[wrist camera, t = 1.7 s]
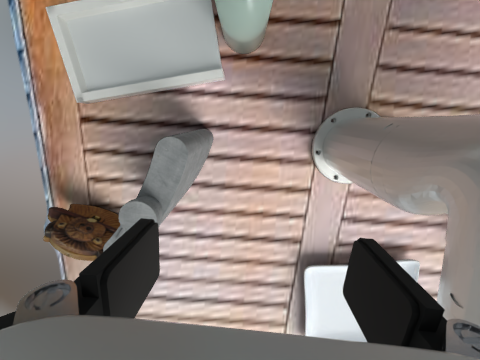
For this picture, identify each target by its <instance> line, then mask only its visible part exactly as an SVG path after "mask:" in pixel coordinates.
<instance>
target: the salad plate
mask: <svg viewBox="0 0 480 360" xmlns="http://www.w3.org/2000/svg"><path fill="white" fill-rule="evenodd" d="M395 261H396V262H397V263H398V264H399V265H400V266H401V267H402V268H403V269H404V270H405V271H406V272H407V273H408V274H409V275H410V276H411V277H412V278H413V279H414V280H415V281H416V282H418V276H419V267H420V263H419V261H416V260H411V259H405V260H395ZM347 268H348V265H311V266H308V267H306V268H305V270H304V293H305V336H312V337H322V338H331V339H341V340H350V341H359V342H367V340H366V338H365V337H364V335H363V333H362V331H361V329H360V327H359V325H358V323H357V321H356V319H355V317H354V315H353V313H352V311H351V310H350V308H349V306H348V304H347V302H346V300H345V298H344V296H343V285H344V281H345V277H346V272H347Z"/></svg>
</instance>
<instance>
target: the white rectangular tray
mask: <svg viewBox="0 0 480 360" xmlns="http://www.w3.org/2000/svg"><path fill="white" fill-rule="evenodd" d="M46 10H47V13H48V16H49V19H50V22H51V25H52V28H53V31H54V34H55V37H56V40H57V43H58V47H59V50H60V53H61V56H62V59H63V62H64V65H65V68H66V71H67V74H68V77H69V80H70V83H71V86H72V89H73V92H74V95H75V98H76V101H77V103H86V104H89V103H95V102H101V101H106V100H112V99H118V98H124V97H130V96H135V95H141V94H147V93H153V92H159V91H165V90H170V89H176V88H182V87H188V86H194V85H200V84H205V83H211V82H217V81H223V80H225V75H224V71H223V69H222V64H221V58H220V52H219V45H218V39H217V33H216V27H215V20H214V14H213V8H212V2H211V0H79V1H74V2H69V3H64V4H59V5H54V6H49V7H46Z"/></svg>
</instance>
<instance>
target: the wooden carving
mask: <svg viewBox="0 0 480 360" xmlns="http://www.w3.org/2000/svg"><path fill="white" fill-rule="evenodd" d="M48 219H49V220H50V221H51V223H49V224H48V226H47V227H46V229H45V236H44V239H43V240H44V241H45V242H50V243H51V245H52V246H53V247H54V248H55V249H57V250H58V251H60V252H61V253H62V254H64V255H66V256H68V257H72V258H74V259H78V260H87V261H94V260H95V259H96V258H97V257H98V256H100V255H101V254H102V253H103V247H104V245H105V243H106V242H107V241H108V240H109V239H110V238H111V237H112V235H113V234H114V233H115V232H116V230H117V229H118V228H119V226H120V222H119V215H118V214H116V213H114V212H111V211H109V210H106V209H102V208H99V207H95V206H89V205H82V204H71V205H70V208H69V210H68V211H67V210H65V209H63V208H58V207H51V208H49V214H48Z"/></svg>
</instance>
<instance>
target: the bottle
mask: <svg viewBox="0 0 480 360" xmlns="http://www.w3.org/2000/svg"><path fill="white" fill-rule="evenodd" d="M272 3H273V0H215V4H216V8H217V12H218V16H219V19H220V23H221V27H222V31H223V35H224V39H225V41H226V43H227V45H228V46H229V47H230V48H231V49H232V50H233V51H235V52H237V53H240V54H248V53H251V52H253V51H255V50H256V49H257V48H258V47H259V46H260V45H261V43H262V42H263V39H264V36H265V32H266V28H267V24H268V19H269V15H270V11H271V7H272Z"/></svg>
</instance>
